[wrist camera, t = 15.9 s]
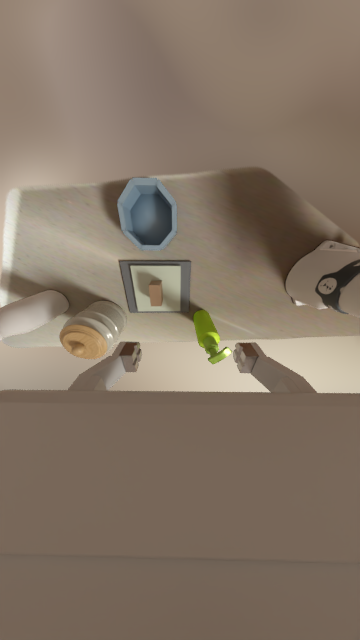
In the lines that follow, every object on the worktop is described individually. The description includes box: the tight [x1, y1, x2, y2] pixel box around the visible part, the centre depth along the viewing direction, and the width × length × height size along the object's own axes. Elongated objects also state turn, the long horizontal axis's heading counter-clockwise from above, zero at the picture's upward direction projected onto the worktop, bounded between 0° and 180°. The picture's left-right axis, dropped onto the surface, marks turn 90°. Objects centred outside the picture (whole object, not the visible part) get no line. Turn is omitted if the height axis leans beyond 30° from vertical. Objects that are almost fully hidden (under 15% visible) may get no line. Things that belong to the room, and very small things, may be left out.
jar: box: [60, 301, 127, 359], centre depth 38 cm, size 13×13×18 cm
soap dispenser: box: [193, 310, 232, 364], centre depth 38 cm, size 6×7×20 cm
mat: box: [120, 261, 191, 313], centre depth 41 cm, size 20×16×1 cm
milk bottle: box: [0, 290, 69, 341], centre depth 34 cm, size 8×8×20 cm
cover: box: [130, 265, 181, 311], centre depth 38 cm, size 14×14×6 cm
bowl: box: [117, 178, 177, 250], centre depth 30 cm, size 12×12×6 cm
